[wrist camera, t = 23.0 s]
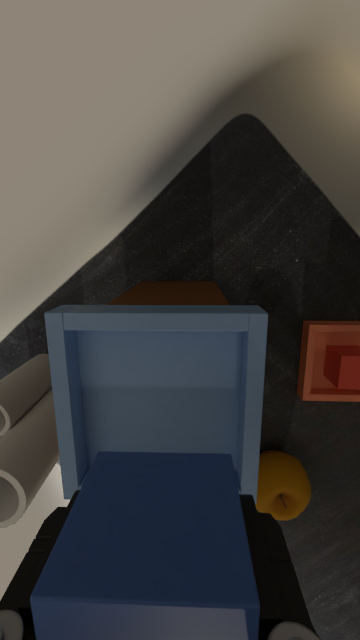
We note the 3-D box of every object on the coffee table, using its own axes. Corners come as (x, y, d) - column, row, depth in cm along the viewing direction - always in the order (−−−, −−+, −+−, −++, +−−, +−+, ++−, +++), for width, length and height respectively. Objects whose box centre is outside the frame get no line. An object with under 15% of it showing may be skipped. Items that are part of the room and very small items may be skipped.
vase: (104, 389, 46) (40, 491, 27) (79, 423, 48) (1, 543, 28) (40, 347, 45) (-75, 421, 26) (17, 383, 47) (-109, 479, 27)
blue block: (97, 450, 10) (28, 597, 6) (231, 452, 10) (261, 607, 6) (106, 556, 11) (51, 750, 7) (227, 560, 11) (250, 763, 7)
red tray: (303, 320, 43) (309, 324, 40) (383, 321, 42) (395, 325, 40) (296, 392, 45) (302, 400, 43) (372, 394, 45) (382, 402, 42)
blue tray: (134, 274, 42) (43, 312, 16) (221, 273, 42) (268, 313, 16) (137, 356, 45) (63, 499, 19) (219, 357, 44) (256, 505, 19)
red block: (326, 345, 43) (341, 356, 38) (359, 345, 42) (378, 356, 38) (323, 375, 44) (337, 389, 39) (355, 375, 44) (373, 389, 39)
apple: (227, 463, 48) (235, 511, 40) (264, 423, 46) (281, 464, 38) (271, 494, 49) (288, 546, 40) (309, 456, 47) (335, 503, 39)
